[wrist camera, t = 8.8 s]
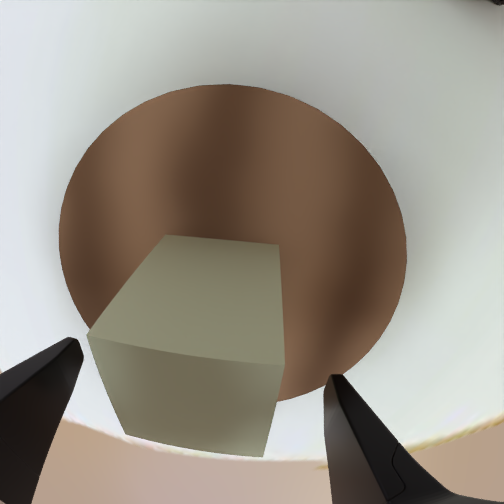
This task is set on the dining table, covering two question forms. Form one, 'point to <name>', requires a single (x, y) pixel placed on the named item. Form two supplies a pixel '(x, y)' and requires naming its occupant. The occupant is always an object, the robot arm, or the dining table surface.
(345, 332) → the walnut base
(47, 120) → the dining table surface
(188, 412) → the sage block
